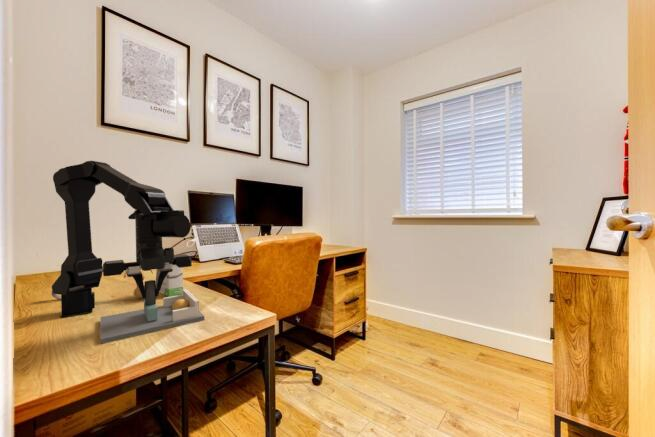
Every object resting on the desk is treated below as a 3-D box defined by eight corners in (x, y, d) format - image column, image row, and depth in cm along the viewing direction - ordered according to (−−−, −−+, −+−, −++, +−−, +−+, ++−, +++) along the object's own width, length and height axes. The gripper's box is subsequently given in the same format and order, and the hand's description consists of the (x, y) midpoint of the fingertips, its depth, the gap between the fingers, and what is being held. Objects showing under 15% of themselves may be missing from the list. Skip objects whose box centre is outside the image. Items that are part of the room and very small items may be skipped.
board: (100, 343, 60) (100, 339, 60) (100, 320, 72) (100, 317, 72) (204, 319, 73) (204, 316, 73) (189, 303, 85) (189, 300, 85)
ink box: (183, 294, 95) (183, 259, 95) (168, 297, 92) (167, 261, 91) (174, 289, 101) (174, 257, 101) (159, 292, 97) (158, 258, 97)
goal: (173, 321, 69) (173, 305, 69) (163, 306, 80) (163, 292, 80) (199, 315, 73) (198, 300, 73) (186, 302, 84) (186, 289, 84)
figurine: (128, 302, 86) (128, 264, 86) (121, 299, 90) (120, 261, 90) (157, 296, 93) (157, 260, 93) (149, 292, 97) (149, 258, 96)
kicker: (147, 321, 68) (146, 285, 68) (143, 312, 74) (142, 279, 74) (158, 319, 70) (157, 283, 70) (153, 310, 76) (153, 277, 76)
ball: (190, 300, 76) (189, 315, 76) (187, 296, 79) (185, 311, 79) (174, 301, 74) (172, 317, 74) (171, 298, 77) (169, 312, 77)
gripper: (102, 242, 59) (104, 314, 60) (196, 236, 71) (197, 297, 72) (102, 238, 68) (103, 302, 68) (186, 234, 80) (187, 288, 80)
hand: (150, 297), depth 72 cm, fingers closed on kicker, 2 cm apart
